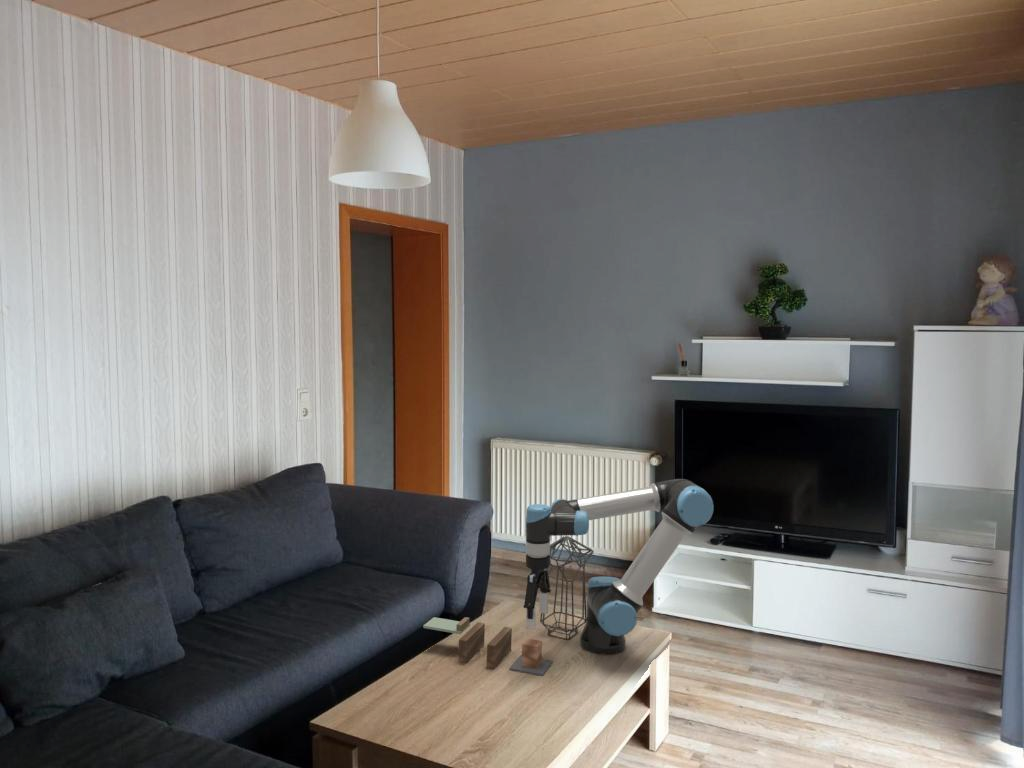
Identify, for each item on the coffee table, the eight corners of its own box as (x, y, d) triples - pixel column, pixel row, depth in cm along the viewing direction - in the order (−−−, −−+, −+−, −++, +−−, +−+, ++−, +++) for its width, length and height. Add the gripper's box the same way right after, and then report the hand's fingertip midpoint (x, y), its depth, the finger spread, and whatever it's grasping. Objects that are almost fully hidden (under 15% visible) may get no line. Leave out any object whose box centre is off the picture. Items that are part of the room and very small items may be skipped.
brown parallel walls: (511, 649, 269) (511, 627, 268) (493, 669, 254) (494, 646, 253) (477, 643, 273) (477, 622, 272) (458, 662, 258) (458, 639, 257)
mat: (553, 662, 261) (553, 660, 261) (543, 676, 250) (543, 674, 250) (520, 656, 264) (520, 654, 264) (509, 670, 254) (509, 668, 254)
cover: (469, 625, 269) (470, 617, 269) (460, 634, 261) (460, 625, 261) (433, 619, 273) (434, 611, 273) (423, 627, 266) (423, 619, 265)
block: (541, 662, 259) (542, 640, 258) (536, 668, 254) (537, 646, 253) (526, 659, 260) (527, 638, 260) (521, 665, 256) (522, 644, 255)
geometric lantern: (592, 632, 286) (597, 535, 282) (571, 648, 273) (575, 546, 269) (553, 621, 295) (557, 526, 291) (530, 636, 281) (534, 537, 277)
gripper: (537, 542, 269) (537, 605, 271) (513, 564, 246) (513, 633, 247) (560, 544, 267) (559, 608, 269) (537, 567, 243) (537, 636, 245)
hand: (537, 620), depth 258 cm, fingers open, 13 cm apart
